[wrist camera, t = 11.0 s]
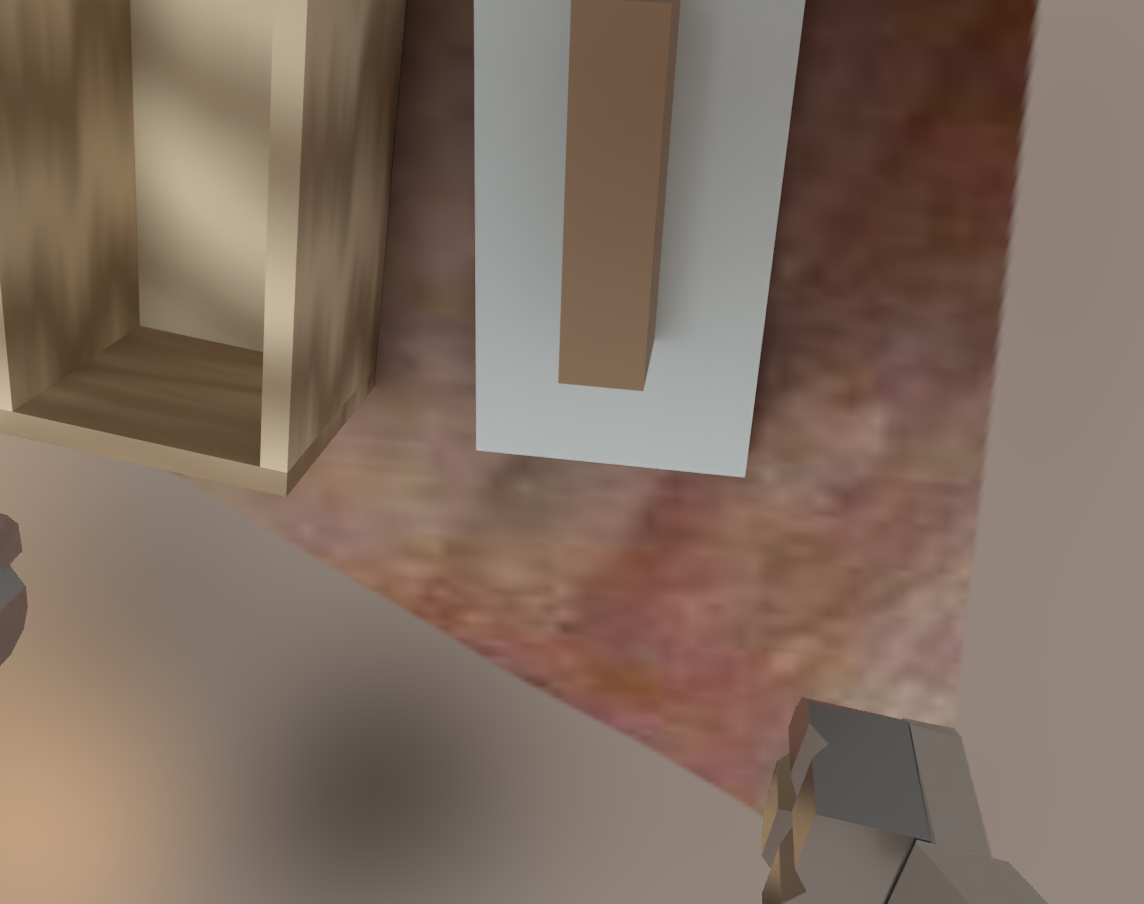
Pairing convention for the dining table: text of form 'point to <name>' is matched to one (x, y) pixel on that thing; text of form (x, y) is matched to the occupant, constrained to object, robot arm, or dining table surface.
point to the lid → (627, 224)
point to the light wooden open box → (194, 226)
